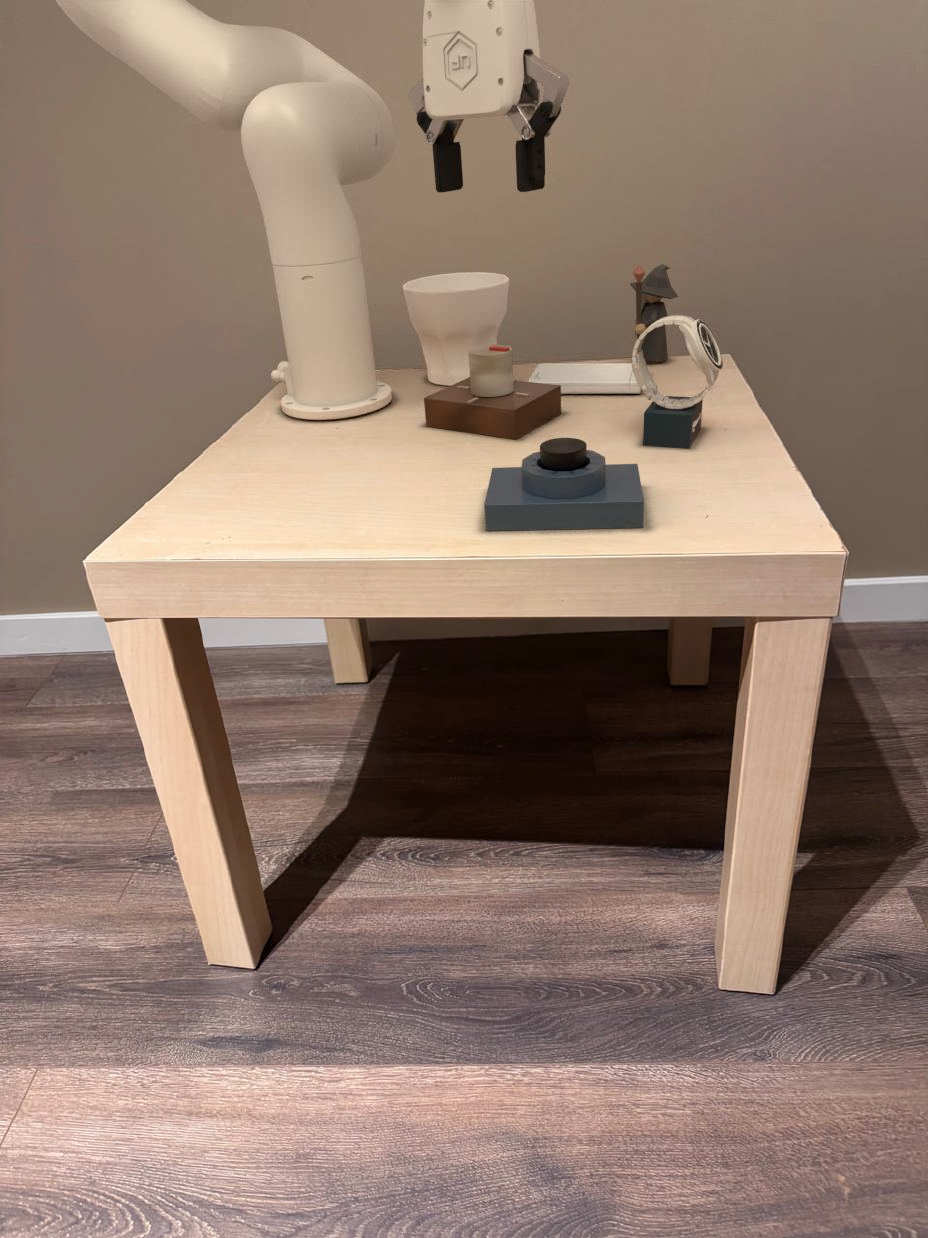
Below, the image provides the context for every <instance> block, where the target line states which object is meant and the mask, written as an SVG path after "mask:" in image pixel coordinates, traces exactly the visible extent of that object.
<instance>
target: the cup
mask: <svg viewBox="0 0 928 1238" xmlns="http://www.w3.org/2000/svg"><path fill="white" fill-rule="evenodd" d="M509 286H510V278H509V277H508V276H507V275H506V274H502V273H496V272H485V271H483V272H482V271H468V272H466V271H465V272H452V273H441V274H435V275H429V276H422V277H419V278H416V279H415V278H414V279H412V280H408V281H406V283H403V284H402V286H401V287H402V291H403V296H404V299H405V304H406V308H407V312H408V316H409V321H410V322H411V325H412V326H413V329H414V330H415V332H416V335H418V339H419V342H420V346H421V350H422V353H423V358H424V362H425V366H426V375H427V380H428V382H429V383H431V384H433V385H438V386H443V387H444V386H445V387H449V386H451V385H453V384H456V383H458V382H460V381H462V380H464V379H467V378H469V377H470V368H469V353H468V351H469V350H470V349H471V348H474V347H477V346H482V345H492V344H498V335H499V330H500V328H501V325H502V324H503V321H504V319H505V317H506V316H507V308H508V300H509V299H508V297H509V289H510V287H509Z"/></svg>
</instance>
